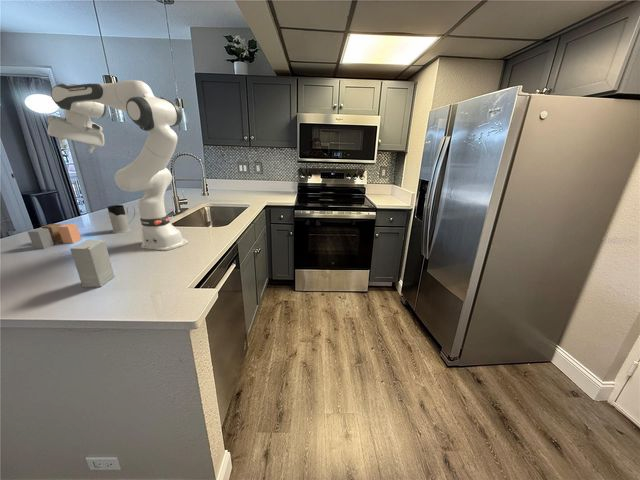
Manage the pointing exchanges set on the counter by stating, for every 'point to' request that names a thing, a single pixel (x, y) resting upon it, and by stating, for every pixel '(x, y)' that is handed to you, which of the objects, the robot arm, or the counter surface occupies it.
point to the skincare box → (92, 263)
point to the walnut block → (54, 232)
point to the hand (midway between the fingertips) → (77, 151)
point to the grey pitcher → (119, 218)
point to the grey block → (41, 238)
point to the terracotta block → (69, 233)
